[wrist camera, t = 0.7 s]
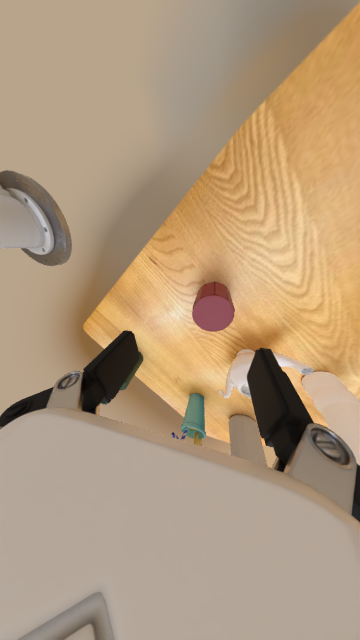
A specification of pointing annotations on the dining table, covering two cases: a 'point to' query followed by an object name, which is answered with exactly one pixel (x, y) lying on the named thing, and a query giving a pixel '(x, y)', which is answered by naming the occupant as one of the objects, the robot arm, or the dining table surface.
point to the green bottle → (130, 375)
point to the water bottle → (336, 407)
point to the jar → (246, 439)
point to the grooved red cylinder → (213, 307)
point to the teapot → (243, 363)
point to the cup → (194, 420)
